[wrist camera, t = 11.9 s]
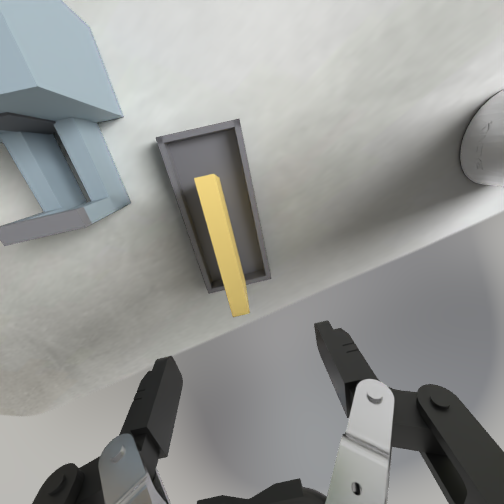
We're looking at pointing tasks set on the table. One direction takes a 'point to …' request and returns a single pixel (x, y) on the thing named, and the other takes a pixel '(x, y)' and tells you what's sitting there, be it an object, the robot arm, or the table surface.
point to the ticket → (223, 242)
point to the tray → (234, 189)
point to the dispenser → (56, 117)
